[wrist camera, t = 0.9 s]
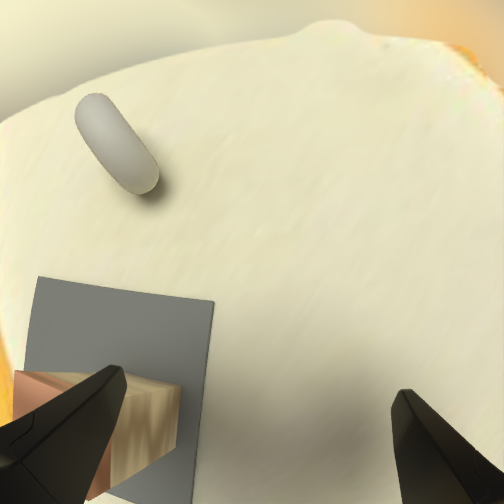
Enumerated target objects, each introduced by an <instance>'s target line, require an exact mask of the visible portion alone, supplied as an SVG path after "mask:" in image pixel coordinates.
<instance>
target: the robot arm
mask: <svg viewBox="0 0 504 504" xmlns="http://www.w3.org/2000/svg"><path fill="white" fill-rule="evenodd" d="M126 391H127V381H126V377H125V374H124V370H123V368H122V366H119V365H114V364H110V365H108V366H106V367H105V368H103V369H101V370H100V371H98V372H96V373H95V374H93V375H91V376H90V377H88V378H86V379H85V380H83V381H81V382H80V383H78V384H76V385H75V386H73V387H71V388H70V389H68V390H66V391H65V392H63V393H61V394H60V395H58V396H56V397H54V398H53V399H51V400H49V401H48V402H46V403H44V404H43V405H41V406H39V407H37V408H36V409H34V410H32V411H30V412H29V413H27V414H25V415H24V416H22V417H20V418H18V419H16V420H14V421H12V422H10V423H8V424H6V425H4V426H2V427H0V504H84V502H85V499H86V496H87V494H88V491H89V489H90V486H91V484H92V481H93V479H94V476H95V474H96V472H97V469H98V467H99V464H100V462H101V459H102V457H103V455H104V452H105V450H106V448H107V445H108V443H109V441H110V438H111V436H112V434H113V431H114V429H115V426H116V423H117V420H118V417H119V414H120V410H121V407H122V404H123V400H124V397H125V394H126ZM391 420H392V432H393V446H394V454H395V460H396V466H397V471H398V477H399V484H400V490H401V497H402V503H403V504H504V473H503V472H502V471H501V470H499V469H498V468H497V467H496V466H494V465H493V464H492V463H491V462H490V461H488V460H487V459H486V458H485V457H484V456H483V455H482V454H481V453H480V452H479V451H478V450H475V448H474V447H473V446H472V445H471V444H470V443H469V442H468V441H467V440H466V439H465V438H464V437H462V436H461V435H460V434H459V433H458V432H457V431H456V430H455V429H454V428H453V427H452V426H451V425H450V424H449V423H448V422H446V421H445V420H444V419H443V418H442V417H441V416H440V415H439V414H438V413H437V412H436V411H435V410H434V409H432V408H431V407H430V406H429V405H428V404H427V403H426V402H425V401H424V400H423V399H422V398H421V397H420V396H418V395H417V394H416V393H415V392H414V391H413V390H412V389H401V390H399V392H398V393H397V396H396V398H395V400H394V402H393V404H392V407H391Z"/></svg>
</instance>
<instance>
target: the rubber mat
mask: <svg viewBox="0 0 504 504" xmlns="http://www.w3.org/2000/svg"><path fill="white" fill-rule="evenodd" d="M213 310H214V302H213V301H206V300H198V299H189V298H181V297H172V296H165V295H157V294H149V293H142V292H135V291H127V290H120V289H114V288H107V287H100V286H94V285H88V284H81V283H75V282H69V281H63V280H58V279H52V278H46V277H41V276H38V279H37V284H36V289H35V294H34V299H33V305H32V310H31V316H30V323H29V329H28V337H27V344H26V353H25V363H24V371H36V372H67V373H96V372H98V371H100V370H101V369H103V368H105V367H106V366H108V365H110V364H114V365H119V366H122V368H123V370H124V373H128V374H132V375H136V376H140V377H144V378H149V379H153V380H158V381H162V382H167V383H172V384H176V385H181V386H182V389H181V398H180V407H179V417H178V427H177V437H176V448H174V449H173V450H171V451H170V452H168V453H167V454H165V455H164V456H162V457H161V458H159V459H158V460H156V461H155V462H153V463H152V464H150V465H148V466H147V467H145V468H144V469H142V470H141V471H139V472H137V473H136V474H134V475H133V476H131V477H129V478H128V479H126V480H124V481H123V482H121V483H119V484H118V485H116V486H114V487H113V488H111V489H109V490H107V491H106V492H107V493H109V494H111V495H114V496H116V497H119V498H122V499H124V500H127V501H130V502H132V503H135V504H192V495H193V484H194V473H195V463H196V453H197V443H198V434H199V424H200V415H201V406H202V397H203V389H204V380H205V372H206V364H207V356H208V348H209V340H210V332H211V325H212V317H213Z"/></svg>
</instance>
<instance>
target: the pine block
mask: <svg viewBox="0 0 504 504" xmlns="http://www.w3.org/2000/svg"><path fill="white" fill-rule="evenodd" d="M93 374H95V373H67V372H36V371H19V370H15V374H14V390H13V421H14V420H16V419H18V418H20V417H22V416H24V415H25V414H27V413H29V412H30V411H32V410H34V409H36V408H37V407H39V406H41V405H43V404H44V403H46V402H48V401H49V400H51V399H53V398H54V397H56V396H58V395H60V394H61V393H63V392H65V391H66V390H68V389H70V388H71V387H73V386H75V385H76V384H78V383H80V382H81V381H83V380H85V379H86V378H88V377H90V376H91V375H93ZM124 374H125V377H126V381H127V391H126V394H125V397H124V400H123V404H122V407H121V410H120V414H119V417H118V420H117V423H116V426H115V429H114V431H113V434H112V436H111V438H110V441H109V443H108V445H107V448H106V450H105V452H104V455H103V457H102V459H101V462H100V464H99V467H98V469H97V472H96V474H95V476H94V479H93V481H92V484H91V486H90V489H89V491H88V494H87V496H86V499H85V500H88V501H90V500H91V499H93V498H95V497H97V496H99V495H100V494H102V493H104V492H106V491H107V490H109V489H111V488H113V487H114V486H116V485H118V484H119V483H121V482H123V481H124V480H126V479H128V478H129V477H131V476H133V475H134V474H136V473H137V472H139V471H141V470H142V469H144V468H145V467H147V466H148V465H150V464H152V463H153V462H155V461H156V460H158V459H159V458H161V457H162V456H164V455H165V454H167V453H168V452H170V451H171V450H173V449H174V448H176V437H177V427H178V417H179V407H180V398H181V389H182V386H181V385H176V384H172V383H167V382H162V381H158V380H153V379H149V378H144V377H140V376H136V375H132V374H128V373H124Z"/></svg>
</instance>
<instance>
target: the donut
mask: <svg viewBox="0 0 504 504" xmlns="http://www.w3.org/2000/svg"><path fill="white" fill-rule="evenodd" d="M75 123H76V126H77V128H78V130H79V132H80V134H81V135H82V137H83V139H84V140H85V142H86V144H87V145H88V147H89V148H90V150H91V151H92V152H93V154H94V155H95V157H96V158H97V159H98V161H99V162H100V163H101V164H102V166H103V167H104V168H105V169H106V170H107V172H108V173H109V174H110V175H111V176H112V177H113V178H114V179H115V180H116V182H117V183H118V184H119V185H121V186H122V187H123V188H124V189H125V190H127V191H129V192H131V193H133V194H144V193H147V192H149V191H150V190H152V189H153V188H154V187H155V186H156V184H157V182H158V180H159V174H160V173H159V167H158V165H157V163H156V161H155V160H154V158H153V157H152V155H151V154H150V153H149V151H148V150H147V148H146V147H145V146H144V144H143V143H142V142H141V140H140V139H139V137H138V136H137V135H136V133H135V132H134V131H133V129H132V128H131V126H130V125H129V124H128V122H127V121H126V120H125V118H124V117H123V115H122V114H121V113H120V111H119V110H118V109H117V107H116V106H115V105H114V103H113V102H112V101H111V100H110V99H109V98H108V97H107V96H106V95H104V94H101V93H93V94H89V95H87V96H85V97H84V98H83V99H82V100H81V101H80V102H79V103H78V105H77V107H76V111H75Z"/></svg>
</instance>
